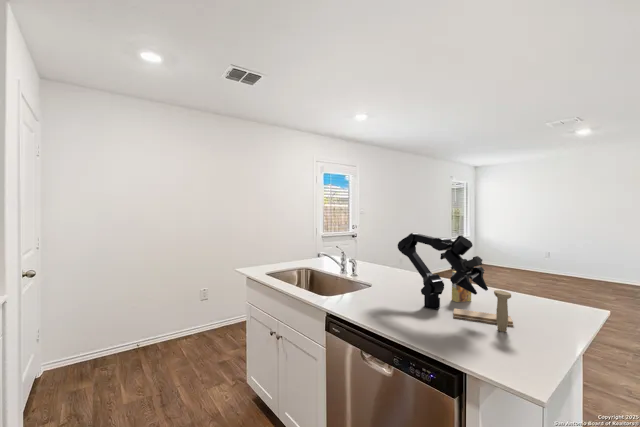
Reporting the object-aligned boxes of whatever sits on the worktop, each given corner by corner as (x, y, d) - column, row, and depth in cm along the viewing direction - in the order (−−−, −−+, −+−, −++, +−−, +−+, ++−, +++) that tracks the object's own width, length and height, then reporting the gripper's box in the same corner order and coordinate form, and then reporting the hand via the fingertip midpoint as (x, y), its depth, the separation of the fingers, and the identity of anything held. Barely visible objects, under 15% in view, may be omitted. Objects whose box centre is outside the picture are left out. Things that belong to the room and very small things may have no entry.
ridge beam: (453, 318, 128) (453, 314, 128) (454, 310, 137) (454, 307, 137) (513, 327, 118) (513, 323, 118) (509, 318, 127) (509, 315, 127)
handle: (501, 334, 112) (501, 295, 111) (490, 327, 118) (491, 290, 118) (513, 334, 112) (514, 294, 111) (502, 327, 118) (503, 290, 118)
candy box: (466, 299, 155) (466, 270, 154) (471, 301, 151) (472, 271, 150) (451, 300, 153) (451, 270, 153) (456, 302, 149) (457, 272, 148)
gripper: (457, 252, 119) (485, 284, 111) (480, 248, 130) (507, 277, 122) (439, 268, 126) (464, 300, 117) (462, 263, 137) (487, 292, 128)
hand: (481, 292), depth 121 cm, fingers open, 9 cm apart
